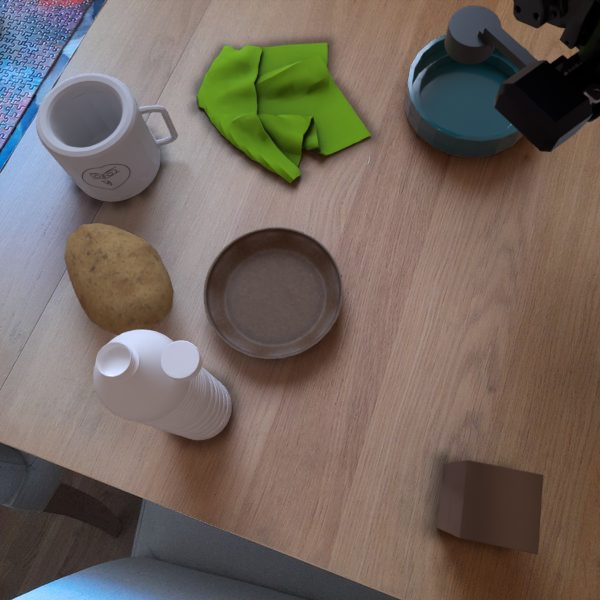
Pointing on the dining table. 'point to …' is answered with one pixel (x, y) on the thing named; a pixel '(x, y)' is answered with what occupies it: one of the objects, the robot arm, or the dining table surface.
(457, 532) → the brown rectangular block
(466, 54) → the ladle
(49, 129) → the mug
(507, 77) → the bowl
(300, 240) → the saucer
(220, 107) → the cloth
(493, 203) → the dining table surface
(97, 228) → the potato
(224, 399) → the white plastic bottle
